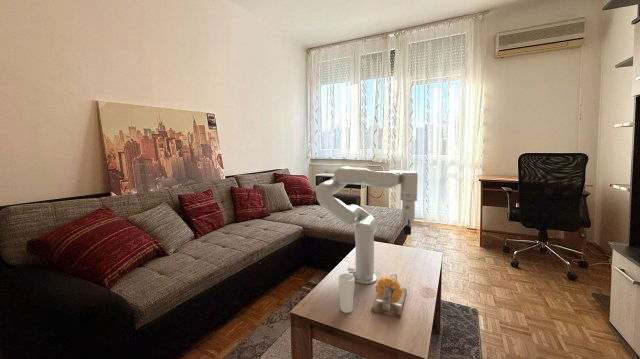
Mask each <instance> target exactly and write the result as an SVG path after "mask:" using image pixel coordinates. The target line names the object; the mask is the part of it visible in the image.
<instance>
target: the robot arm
mask: <svg viewBox="0 0 640 359" xmlns="http://www.w3.org/2000/svg"><path fill="white" fill-rule="evenodd" d="M418 176H419V175H418V172H417V171H415V170H397V169H390V170H389V171H377V170H376V171H375V170H370V169H368V168H365V167H351V166H349V165H344V166H341V167H338V168H337V169H336V170H335V171H334V173H333V176H332V177H331V178H330V179H328V180H324V181H323V182H321V183H319V184H318V186H316V190H315V197H316V201H317V202H318V204H319V205H320V206H321V207H322V208H323V209H324V210H326V211H328V212H329V213H330V214H331V215H333V216H334V217H335V218H336V219H338V220H339V221H340V222H341V223H343V224H344V225H346V226H353V225H354V224H355V228H354V241H355V242H354V243H355V267H354V268H352V267H348V268H347V271H348V274H351V275H353V276H354V279H355V283H358V284H361V285H370V284H374V283H376V281H378V280H377V274H375V266H374V264H375V240H374V235H375V233H376V232H377V230H378V228H379V222H378V221H377V219H376V217H374V216H373V215H371V213H369V212H368V211H366V210H365V209H363V208H362V207H361V206H360V205H357V204H354V203H351V204H349V205H347V204H345V202H343V201H342V200H340V199H339V198H336V197H335V196H333V195H335V194H337V193H339V192H340V191H341V190H343V188H344V187H346V186H347V185H361V186H367V187H368V186H369V187H375V188H387V189H388V188H394V187H396V186H398V185H400V201H401V202H402V209H401V210H402V212H401V215H402V217H401V218H402V219H401V220H402V222H404V223H403V224H404V226H403V235H406V236H407V235H408V236H411V235H412V223H413V222H414V221H415V219H416V218H415V215H416V213H415V212H416V211H415V209H416V208H415V207H416V202H418V181H419V180H418V179H419V177H418Z"/></svg>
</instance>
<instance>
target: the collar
mask: <svg viewBox="0 0 640 359" xmlns="http://www.w3.org/2000/svg"><path fill="white" fill-rule="evenodd" d="M386 286H387V287H391V289H392V290H393V292H392V293H391V300H390V303H391V304H392V301H393V302H394V303H396V302H397V301H399V300H400V298H401V296H402V288H403V287H401V286H402V285H401V284H400V282H399V281H398V279H397V280H394V281H393V278H392V277H390V276H385V277H381V278H379V279H378V280H377V282H375V293H376V296H378V297H379V298H380V299H381V300H382V298H383V293H384V291H385V290H384V288H385V287H386Z"/></svg>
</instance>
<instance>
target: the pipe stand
mask: <svg viewBox="0 0 640 359" xmlns="http://www.w3.org/2000/svg"><path fill="white" fill-rule="evenodd" d="M389 277H392V278H393V281H394V280H397V281H398V274H397V273H396V272H391V273H390V275H389ZM401 288H402V296H401V298H400V300H399V301H397V302H396V303H394V302H393V301H392V304H391V303H390V300H391V293H392V292H393V290H392V289H391V287H387V286H386V287H385V288H384V290H385V291H384V293H383V298H382V300H381V299H380V298H379V297H378V296H377V295H376V296H375V298H374V299H373V300H374V301H373V303H372V306H371V308H370V311H371V312H372V313H375V314H381V315H385V316H388V315H389V317H394V318H397V319H401V317H402V312H403V308H404V305H405V304H404V303H405V299H406V296H407V288H404V287H401Z"/></svg>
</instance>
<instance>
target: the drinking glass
mask: <svg viewBox="0 0 640 359" xmlns="http://www.w3.org/2000/svg"><path fill="white" fill-rule="evenodd" d="M355 283H356V281H355V279H354V276H353V274H352V273H340V275H339V276H338V294H339V305H340V306H339V309H340V311H341V312H343V313H345V314H350V313H352V312H353V310H354V309H353V308H354V298H355V297H354V295H355V286H356V284H355Z"/></svg>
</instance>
